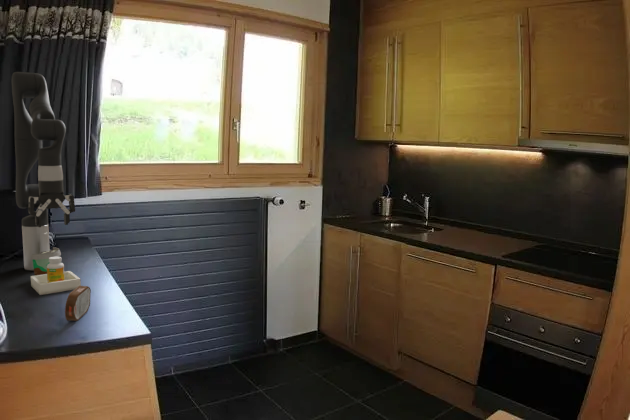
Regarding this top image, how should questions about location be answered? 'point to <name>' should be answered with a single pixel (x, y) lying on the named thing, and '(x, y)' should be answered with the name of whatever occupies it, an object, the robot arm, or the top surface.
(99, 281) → the top surface
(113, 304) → the top surface
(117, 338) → the top surface
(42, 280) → the tray
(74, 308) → the tin
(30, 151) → the robot arm
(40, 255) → the ice cream tub
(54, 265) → the supplement bottle
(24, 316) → the top surface
